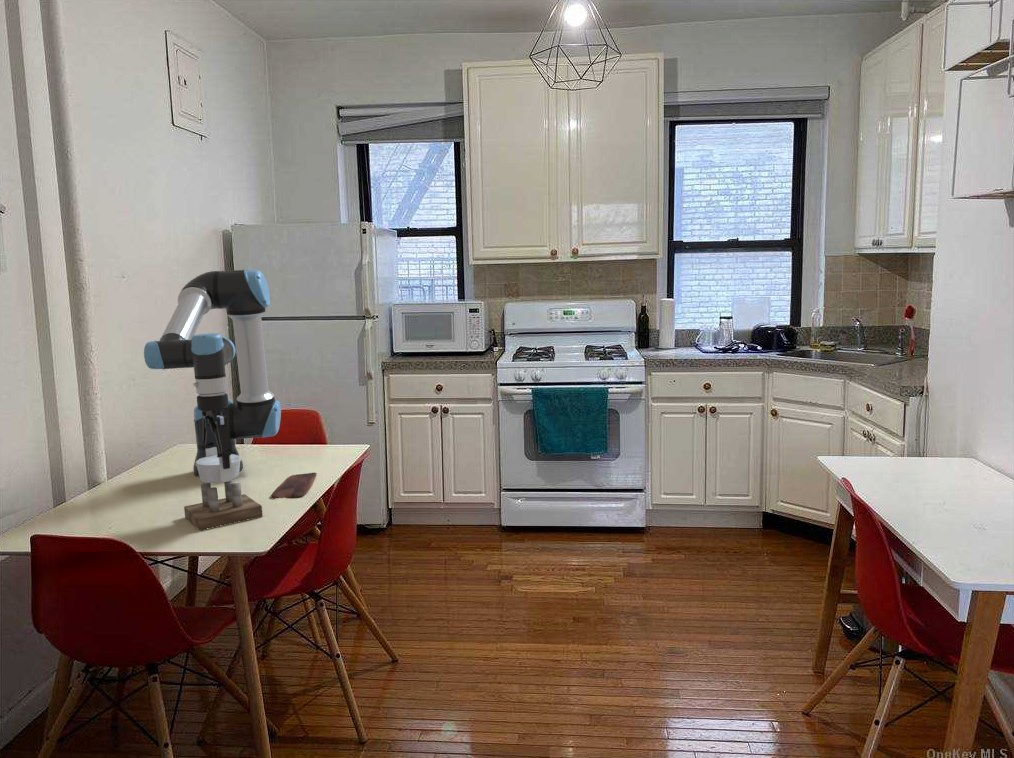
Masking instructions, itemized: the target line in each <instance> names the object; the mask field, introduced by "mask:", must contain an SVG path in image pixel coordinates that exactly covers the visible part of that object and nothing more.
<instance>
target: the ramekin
mask: <svg viewBox="0 0 1014 758" xmlns="http://www.w3.org/2000/svg"><path fill="white" fill-rule="evenodd" d="M239 455H240V454H239ZM239 455H234V454H231V455H230V458H231V469H232V480H234V481H235V480H236V479H237V478H238V477H239V476H240V472H241V471H240V461H241V460H242V458H241V455H240V456H239ZM196 467H197V469H198V473H199V477H198V478H199V480H201V482H203V483H210V484H221V483H223V484H224V482H228V481H224V482H221V477H220V466H219V457H217V455H214V456H208V457H204V458H201V459H199V460H197V461H196ZM239 471H240V472H239ZM229 481H231V480H229Z"/></svg>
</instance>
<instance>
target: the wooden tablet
mask: <svg viewBox="0 0 1014 758" xmlns="http://www.w3.org/2000/svg"><path fill="white" fill-rule="evenodd" d="M316 477H317V472H307V473H299V474H293V475H290V476H287V478H286V479H284V481H283V482H281V483H280V484H279V485H278V486H277V487H276V488H275V489H274V491H273V492H272V494H271V495H270V498H273V499H272V500H276V499H275V498H281V499H301V498H302V497H303V498H304V496H305V495H306V494H307V493H308V492H309V490H310V489H311V488H312V486H313V484H314V482H315V480H316Z"/></svg>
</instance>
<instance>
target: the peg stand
mask: <svg viewBox="0 0 1014 758" xmlns="http://www.w3.org/2000/svg"><path fill="white" fill-rule="evenodd" d="M234 481H235V479H234V480H231V481H228V482H223V484H224V485H223V486H224V493H225V495H224V496H225V497H224V498H220V499H219V496H218V495H219V494H218V487H215V486H214V487H212V485H211V484H212V483H205V482H203V483H200V490H201V491H200V492H201V499H202V502H200V503H196V504H189V505H184V506H183V511H184V518H185V519H186V520H187V521H188V520H189V521H188V522H189V523H190V524H191V525H192V526H194V527H195V528H196V529H197V528H198V529H199V530H201V531H204V530H203V529H205V530H208V529H207V528H210V529H213V528H212V527H214V528H217V527H216V526H219V527H221V526H220V525H223V526H225V525H224V524H228V525H230V524H229V523H232V524H235V523H234V522H237V523H239V522H238V521H241V522H244V521H243V520H246V521H248V520H247V519H250V520H252V519H251V518H255V519H258V517H259V518H263V507H262V506H263V505H262V504H260V503H258V502H257V501H255V500H254V499H252V498H251V497H249V496H248V495H247V494H243V493H242V485H241V482H234ZM198 529H197V530H198ZM199 530H198V531H199Z"/></svg>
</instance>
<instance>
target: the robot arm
mask: <svg viewBox="0 0 1014 758" xmlns="http://www.w3.org/2000/svg"><path fill="white" fill-rule="evenodd" d="M270 297H271V296H270V289H269V285H268V282H267V279H266V277H265V275H264V274H263V272H261V271H260V270H259V269H258V270H257V269H237V270H236V269H235V270H212V271H208V272H207V271H206V272H204V273H202V274H200V275H197V276H195V277H194V278H193V279H191V280H190V281H188V283H186V284H185V285H184V286H183V287H182V288H181V291H180V292H179V294H178V296H177V306H176V307H175V309H174V312H173V314H172V316H171V318H170V320H169V322H168V323H167V325H166V327H165V330H164V331H163V332H162V335H161V336H160V338H159V340H154V341H152V340H151V341H148V342H146V344H145V346H144V349H143V358H144V362H145V365H146V367H147V368H148V369H150V370H171V369H173V370H174V369H175V370H176V369H187V368H188V369H189V368H193V371H194V372H193V373H194V379H195V380H194V381H195V382H194V383H192V385H193V387H195V391H196V394H198V395H197V396H196V405H195V407H194V409H193V417H194V419H193V422H194V430H195V440H196V449H197V450H196V456H195V457H194V458H195V459H194V462H193V467H192V469H193V470H192V472H193V475H194V476H195V477H197V476H199V473H198V469H197V467H196V461H197V460H199V459H201V458H204V457H208V456H214V455H217V457H219V466H220V477H221V482H223V483H224V481H229V480H232V469H231V458H230V455H231V454H234V455H239V456H240V457H241V455H240V454H239V451H238V449H237V446H236V440H239V439H240V440H241V439H260V438H262V439H264V438H269V437H270V438H271V437H274V436H275V437H276V435H277V434H278V432H279V430H280V425H281V418H282V416H281V415H282V405H281V402H280V400H276V399H275V394H274V393H273V392H272V391H270V389H269V382H268V381H269V380H268V371H267V361H266V352H265V342H264V331H263V322H262V320H263V319H262V318H263V316H264V315H265V314H266V312H267V311H266V308H268V307H269V306H270V305H271V298H270ZM215 309H216V310H217V309H225V311H226V315H227V317H229V318H230V319H231V320H232V326H233V335H234V342H232V341H233V340H230V339H229V338H227V337H223V335H222V334H220V333H216V332H215V333H214V332H213V333H211V332H210V333H209V332H208V333H200V334H196V332H197V330H198V328H199V326H200V324H201V322H202V320H203V317H204V316H205V315H206V314H208V312H209V311H210V310H215ZM234 343H235V344H234ZM235 356H236V361H237V362H236V363H237V370H238V371H237V372H238V378H239V388H240V389H239V390H240V394H238V396H237V397H236V403H235V402H234V403H233V401H232V399H231V398H229V396H228V394H227V393H226V392H228V383H227V381H228V379H227V375H226V365H228V364H230V363H231V362H232V361H233V359H234V358H235ZM243 464H244V463H243V460H242V459H241V461H240V472H241V471H242V469H243V470H244V465H243Z"/></svg>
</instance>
